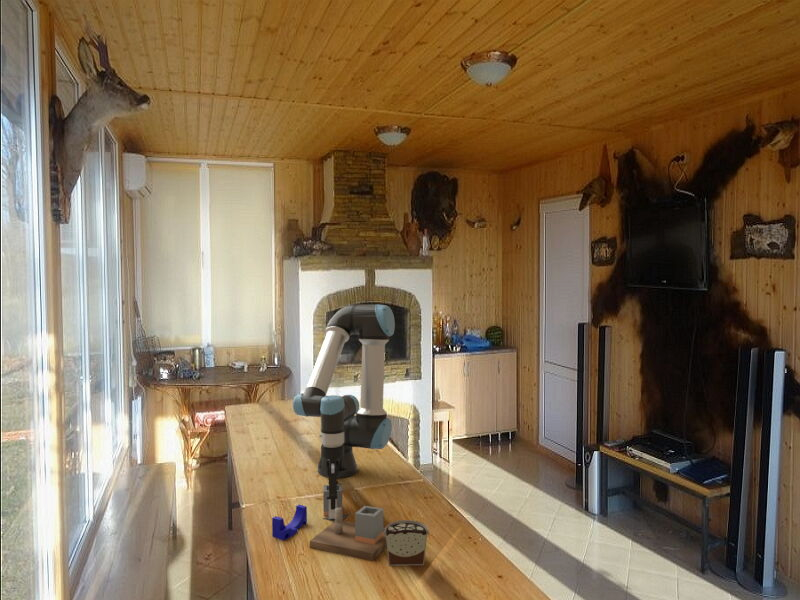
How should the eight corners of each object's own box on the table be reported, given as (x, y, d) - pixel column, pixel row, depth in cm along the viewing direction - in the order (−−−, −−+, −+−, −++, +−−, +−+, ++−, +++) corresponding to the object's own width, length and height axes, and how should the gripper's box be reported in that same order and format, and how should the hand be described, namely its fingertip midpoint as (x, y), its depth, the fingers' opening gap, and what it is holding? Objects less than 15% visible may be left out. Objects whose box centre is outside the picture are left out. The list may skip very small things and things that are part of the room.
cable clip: (283, 541, 175) (283, 521, 175) (272, 537, 177) (272, 517, 177) (310, 526, 185) (310, 507, 185) (299, 523, 187) (299, 504, 187)
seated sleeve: (364, 532, 176) (364, 505, 175) (383, 535, 173) (383, 508, 173) (355, 540, 170) (355, 513, 170) (374, 544, 168) (374, 516, 167)
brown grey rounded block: (427, 554, 166) (427, 518, 166) (429, 565, 160) (429, 528, 160) (383, 554, 166) (383, 519, 165) (383, 565, 160) (383, 529, 159)
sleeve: (323, 508, 197) (323, 485, 197) (341, 508, 198) (341, 484, 198) (323, 516, 191) (323, 491, 191) (342, 515, 192) (342, 490, 192)
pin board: (337, 525, 185) (336, 497, 185) (396, 536, 177) (396, 507, 177) (309, 547, 170) (309, 516, 170) (373, 560, 162) (373, 528, 162)
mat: (326, 504, 202) (326, 502, 202) (357, 509, 198) (357, 508, 198) (307, 517, 191) (307, 516, 191) (340, 523, 187) (340, 522, 187)
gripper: (321, 435, 205) (321, 498, 206) (320, 455, 182) (320, 526, 183) (343, 434, 205) (343, 497, 206) (345, 454, 183) (345, 525, 184)
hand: (332, 511), depth 195 cm, fingers closed on mat, 10 cm apart
